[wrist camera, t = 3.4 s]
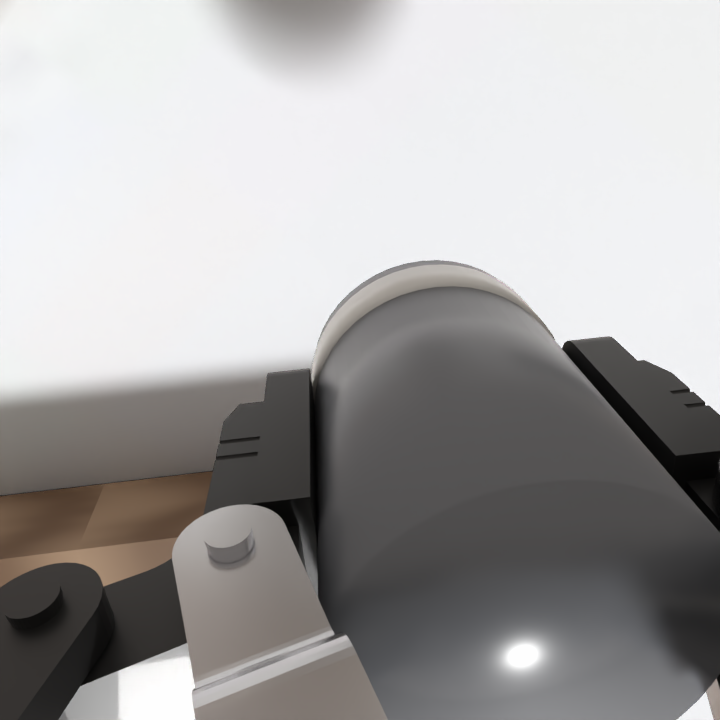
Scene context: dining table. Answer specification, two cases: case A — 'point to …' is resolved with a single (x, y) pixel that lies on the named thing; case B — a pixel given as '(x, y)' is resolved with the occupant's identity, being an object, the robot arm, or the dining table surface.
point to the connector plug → (498, 517)
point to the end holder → (100, 525)
